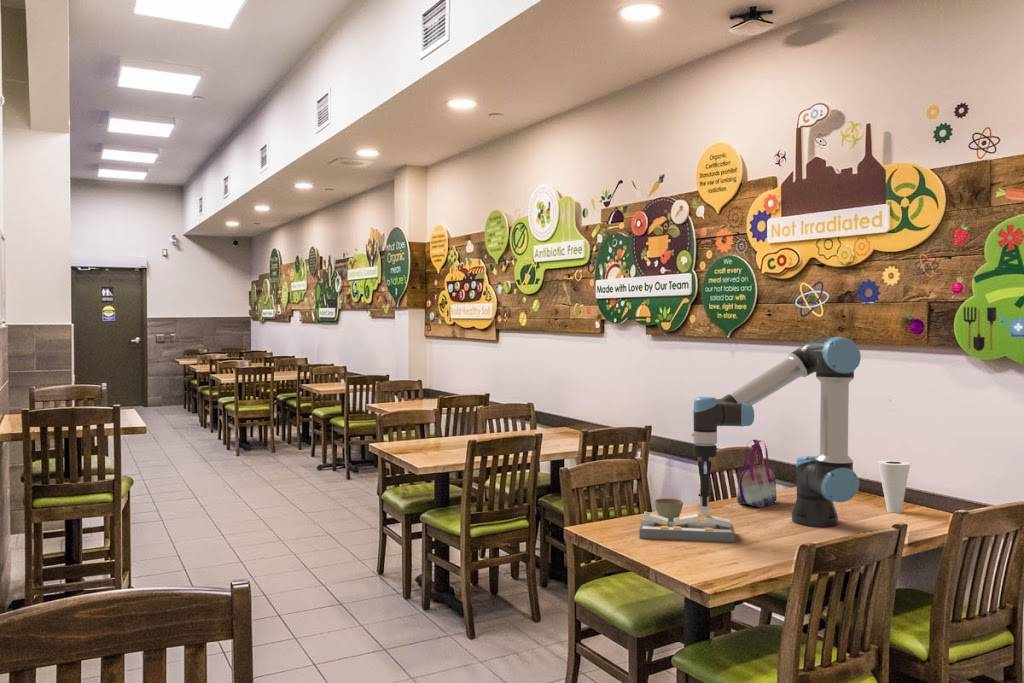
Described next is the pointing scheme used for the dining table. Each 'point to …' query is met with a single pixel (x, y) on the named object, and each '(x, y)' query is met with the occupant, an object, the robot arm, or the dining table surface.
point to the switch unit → (687, 531)
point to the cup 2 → (894, 483)
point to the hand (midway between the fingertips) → (704, 515)
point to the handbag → (757, 481)
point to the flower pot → (668, 508)
